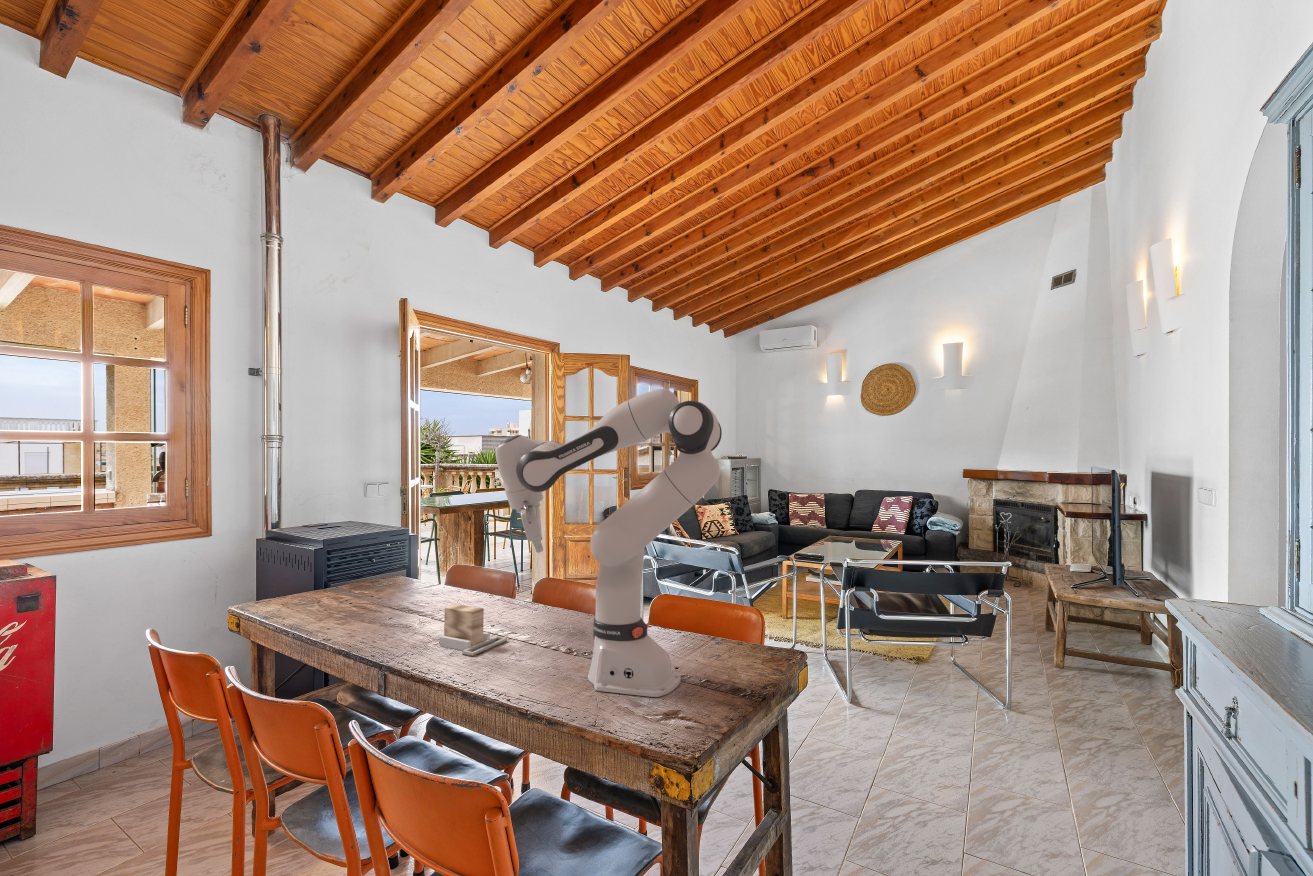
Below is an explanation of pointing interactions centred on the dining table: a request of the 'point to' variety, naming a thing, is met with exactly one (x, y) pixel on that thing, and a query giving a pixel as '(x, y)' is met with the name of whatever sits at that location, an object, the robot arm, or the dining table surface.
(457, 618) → the birch block
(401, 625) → the dining table surface
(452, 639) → the white flat piece
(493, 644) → the trap slot
